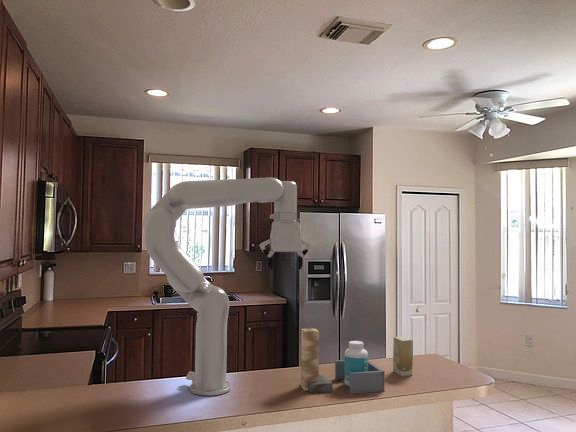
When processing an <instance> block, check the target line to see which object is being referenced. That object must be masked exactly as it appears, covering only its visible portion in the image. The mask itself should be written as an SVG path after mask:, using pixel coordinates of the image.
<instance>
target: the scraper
mask: <svg viewBox="0 0 576 432" xmlns="http://www.w3.org/2000/svg"><path fill="white" fill-rule="evenodd" d="M300 330H301V335H300V336H301V337H300V339H301V343H300V345H301V347H300V349H301V350H300V353H301V354H300V358H301V359H300V367H301V368H300V387H301V388H302V389H303V391H304V392H306V391H308V390H309V391H308V392H309V393H310V394H313V393H314V392H317V393H330V392H331V393H332V392H333V382H332V381H331V380H330V379H329V378H328V377H327V376H326V375H325V374H319V373H320V371H319V369H320V368H319V367H320V361H319V360H320V357H319V356H320V349H319V348H320V331H319V330H318V329H317V328H313V327H312V328H301V329H300Z"/></svg>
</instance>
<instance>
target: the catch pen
mask: <svg viewBox="0 0 576 432" xmlns="http://www.w3.org/2000/svg"><path fill="white" fill-rule="evenodd" d="M344 377H345V359H340V360H337V359H336V360H334V380H345V379H344ZM348 387H349V391H348V392H349V394H363V393H364V394H367V393H379V392H385V371H384V370H383V369H381V368H380V367H379V366H377V365H375V364H374V363H372V362H371V361H370V360H368V372H351V373H349V386H348Z"/></svg>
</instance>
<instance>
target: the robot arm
mask: <svg viewBox="0 0 576 432" xmlns="http://www.w3.org/2000/svg"><path fill="white" fill-rule="evenodd" d="M248 203H259V204H261V203H262V204H263V203H265V204H266V203H274V204H273V205H274V207H273V208H274V212H273V213H272V214H270V215H269V219H272V220H273V221H272V223H271V227H270V235H269V239H267V240H265V241H263V242H261V243H259V247H260V249H261V251H262V253H263V254H264V255H265V257H267V258H266V259H267V268H268V270H271V271H272V270H273V269H274V267H273V266H274V258H273V255H275V253H276V252H277V253H296V255H297V258H296V269H297V270H302V268H303V267H304V266H303V264H304V263H303V261H304V259H303V258H304V257H305V255H307V254H308V253H309V250H310V248H311V246H312V245H311V244H310V243H308V242H307V241H305V240H303V239H302V234H301V233H302V232H301V227H300V226H301V225H300V222H298V221H297V220H298V219H297V217H298V215H297V214H298V213H297V212H298V211H297V210H298V208H297V207H298V185H297V183H296V182H295V181H291V180H279V179H278V178H276V177H253V178H252V177H251V178H231V179H229V178H228V179H226V178H225V179H207V180H187V181H181V182H178V183H176V184H174V185H173V186H171V188H169V190H168V191H167V192H166V193H165V194H164V195H163V196H162V197H161V198H160V199H159V200H158V201H157V202H156V203H155V204H154V205H153V206H152V207H151V208H150V209H149V210H148V211H147V212H146V214H145V215H144V217H143V219H142V227H143V229H144V231H145V233H144V244H145V249H146V252H147V255H148V256H149V257H150V259H151V260H152V261H153V262H154V264H156V266H157V267H159V269H160V270H161V272H163V274H165V275H166V279H167V282H168V284H169V286H170V287H171V288H172V289H173V290H174V291H175V292H176V293H177V294H178V295H179V296H180V297H181V298H182V299H183V300H184V301H185V302H186V303H187V304H188V305H189V306H190V307H191V308H192V309H193V310H194V311H196V312H197V317H196V323H195V324H196V325H195V354H194V355H195V356H194V357H195V358H194V361H195V363H194V371H188V373H187V374H186V376H185V379H186V380H188V381H191V384H190V385H189V391H190V393H192V394H194V395H197V396H209V397H211V396H218V395H224V394H226V393H228V392H229V391H231V389H232V384H231V383H230V381H228V380H227V355H228V354H227V351H228V350H227V349H228V347H227V346H228V345H227V344H228V338H227V336H228V333H227V331H228V319H229V311H230V299H229V296H228V294H227V293H226V291H225V290H224V289H223V288H221V287H220V286H216V285H213V284H212V283H210V281H208V280H207V278H205V277H204V272H203V269H201V266H199V264H197V263H196V262H195V261H194V260H193V259H192V258H191V257H190V256H189V255H188V254H187V253H186V252H185V251H184V250H183V249H182V247H181V246H180V245H179V244H178V243H177V241H176V238H175V230H176V226H177V221H178V220H179V219H180V218H181V217H182V216H183V214H184V213H185V212H186V211H187V210H192V209H193V210H194V209H206V208H223V207H230V206H231V207H232V206H236V205H240V204H248ZM268 245H269V251H268V250H267V249H266V246H268ZM302 246H304V249H303V250H302ZM301 250H302V251H301Z"/></svg>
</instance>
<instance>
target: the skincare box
mask: <svg viewBox="0 0 576 432" xmlns="http://www.w3.org/2000/svg"><path fill="white" fill-rule="evenodd" d="M392 345H393V347H392V348H393V349H392V353H393V354H392V371H393V372H394V373H396V374H397V375H399V376H400V377H408V376H413V365H414V362H413V360H414V359H413V355H414V346H413V345H414V340H413V339H411V338H409V337H407V336H404V335H402V336H401V335H400V336H393V344H392Z"/></svg>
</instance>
